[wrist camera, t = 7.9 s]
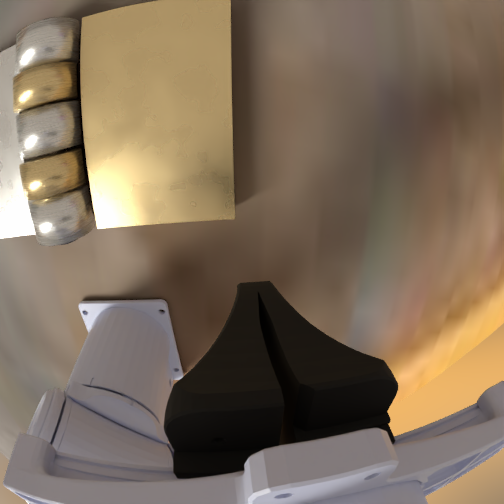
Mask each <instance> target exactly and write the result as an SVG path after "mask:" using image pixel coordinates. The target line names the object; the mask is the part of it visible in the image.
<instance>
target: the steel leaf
mask: <svg viewBox="0 0 504 504" xmlns="http://www.w3.org/2000/svg"><path fill="white" fill-rule="evenodd" d="M79 27H80V22H79V21H78V20H77V19H74V18H69V17H56V18H48V19H44V20H40V21H37V22H34V23H32V24H30V25H28V26H26V27H24V28H23V29H21V30H20V31H19V32H18V33H17V37H16V45H14V46H12V47H10V48H8V49H6V50H4V51H2V52H0V238H7V237H15V236H23V235H31V234H35V235H36V238H37V242H38V244H40V245H42V246H55V245H64V244H68V243H71V242H73V241H75V240H77V239H78V238H80V237H82V236H84V235H86V234H87V233H89V232H90V231H91V230H92V229H93V228H94V226H95V223H94V218H93V212H92V207H91V201H90V196H89V190H88V184H87V183H84V184H82V185H81V186H79V187H77V188H74V189H72V190H69V191H67V192H64V193H61V194H57V195H54V196H51V197H47V198H42V199H37V200H26V199H25V197H24V192H23V186H22V181H21V175H20V169H19V165H20V164H21V163H24V162H26V161H29V160H31V159H34V158H37V157H39V156H40V155H43V154H47V153H51V152H55V151H58V150H62V149H66V148H69V147H73V146H76V145H79V144H82V135H81V123H80V108H79V101H68V102H61V103H56V104H51V105H47V106H43V107H39V108H35V109H32V110H29V111H26V112H22V113H13V77H14V76H16V75H17V74H19V73H21V72H23V71H25V70H28V69H30V68H33V67H37V66H41V65H45V64H50V63H57V62H72V63H76V64H77V63H78V51H79Z"/></svg>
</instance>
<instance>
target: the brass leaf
mask: <svg viewBox="0 0 504 504" xmlns="http://www.w3.org/2000/svg"><path fill="white" fill-rule="evenodd" d="M80 84H81V108H82V123H83V135H84V145H85V154H86V162H87V170H88V177H89V184H90V190H91V196H92V202H93V207H94V213H95V218H96V223H97V228H98V229H100V228H112V227H124V226H136V225H149V224H163V223H177V222H193V221H209V220H227V219H235V199H234V167H233V128H232V78H231V0H158V1H152V2H146V3H140V4H135V5H130V6H125V7H121V8H117V9H112V10H108V11H104V12H101V13H97V14H93V15H90V16H86V17H83V18H82V27H81V50H80ZM76 98H77V64H76V63H72V62H57V63H50V64H45V65H41V66H37V67H33V68H30V69H28V70H25V71H23V72H21V73H19V74H17V75H16V76H14V77H13V113H22V112H26V111H29V110H32V109H35V108H39V107H43V106H47V105H51V104H56V103H61V102H67V101H71V100H73V99H76ZM19 169H20V175H21V181H22V186H23V192H24V197H25V199H26V200H37V199H42V198H47V197H51V196H54V195H57V194H61V193H64V192H67V191H69V190H72V189H74V188H77V187H79V186H81V185H82V184H84V183H85V182H86V180H85V173H84V166H83V158H82V150H81V148H74V149H68V150H64V151H59V152H55V153H51V154H48V155H44V156H41V157H37V158H34V159H31V160H29V161H26V162H24V163H21V164H20V165H19Z"/></svg>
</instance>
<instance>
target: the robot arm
mask: <svg viewBox="0 0 504 504" xmlns="http://www.w3.org/2000/svg"><path fill="white" fill-rule="evenodd" d="M237 288H238V289H237V295H236V299H235V302H234V305H233V308H232V311H231V313H230V315H229V317H228V320H227V322H226V324H225V326H224V328H223V329H222V331H221V333H220V335H219V336H218V338H217V339H216V341H215V342H214V344H213V345H212V346H211V348H210V349H209V351H208V352H207V353H206V354H205V356H204V357H203V358H202V359H201V360H200V361H199V362H198V363H197V364H196V365H195V366H194V368H193V369H192V370H190V371H189V372H188V373H187V374H186V375H185V376H184V377H183V370H182V366H181V362H180V358H179V354H178V350H177V346H176V341H175V337H174V333H173V328H172V324H171V319H170V314H169V309H168V305H167V302H166V301H165V300H162V299H154V300H114V301H81V302H80V304H79V309H80V312H81V315H82V317H83V320H84V322H85V325H86V327H87V330H88V332H89V333H88V335H87V338H86V340H85V342H84V344H83V347H82V349H81V351H80V354H79V356H78V359H77V361H76V363H75V366H74V368H73V371H72V373H71V376H70V378H69V381H68V383H67V386H66V389H65V391H64V392H63V391H62V390H61V389H59V388H55V389H54V390H48V391H46V392H45V394H44V395H43V397H42V399H41V401H40V403H39V405H38V407H37V409H36V411H35V413H34V416H33V418H32V420H31V423H30V425H29V428H28V431H27V434H25V433H22V432H20V433H19V434H18V437H17V440H16V442H15V445H14V448H13V451H12V454H11V458H10V461H9V464H8V468H7V471H6V474H5V478H4V481H3V485H4V486H5V487H6V488H8V489H9V490H11V491H12V492H14V493H15V494H17V495H18V496H20V497H21V498H23V499H24V500H26V502H27V503H28V504H428V503H427V501H426V498H425V496H426V495H428V494H430V493H432V492H434V491H436V490H438V489H440V488H442V487H443V486H445V485H447V484H448V483H451V482H452V481H454V480H456V479H457V478H459V477H461V476H462V475H464V474H466V473H467V472H469V471H470V470H472V469H474V468H475V467H477V466H478V465H480V464H481V463H483V462H484V461H486V460H487V459H489V458H490V457H492V456H493V455H495V454H496V453H498V452H499V451H500V450H501V449H502V448H503V447H504V381H501V382H499V383H498V384H496V385H494V386H492V387H490V388H488V389H487V390H486V391H485V392H484V393H483V394H482V395H481V396H480V398H479V399H478V401H477V403H475V404H473V405H471V406H469V407H467V408H465V409H463V410H460V411H459V412H456V413H454V414H452V415H449V416H447V417H445V418H443V419H440V420H438V421H435V422H433V423H430V424H428V425H425V426H423V427H420V428H418V429H415V430H412V431H409V432H406V433H403V434H401V435H398V436H395V437H394V436H393V434H392V432H391V429H390V427H389V425H388V423H390V417H389V415H388V413H387V410H388V409H389V406H390V405H391V403H392V402H393V400H394V398H395V396H396V393H397V391H398V383H397V381H396V379H395V377H394V375H393V374H392V372H391V370H390V369H389V367H388V366H387V364H386V363H385V361H384V360H381V359H378V358H375V357H372V356H369V355H367V354H364V353H361V352H359V351H356V350H354V349H352V348H350V347H348V346H346V345H344V344H342V343H340V342H338V341H336V340H334V339H333V338H331V337H329V336H328V335H326V334H324V333H323V332H321V331H320V330H319V329H317V328H316V327H314V326H313V325H312V324H310V323H309V322H308V321H307V320H306V319H305V318H303V317H302V316H301V315H300V314H299V313H298V312H297V311H296V310H295V309H294V308H293V307H292V306H291V305H290V304H289V303H288V302H287V301H286V300H285V299H284V297H283V296H282V295H281V294H280V293H279V292H278V290H277V289H276V288H275V287H274V285H273V284H272V283H271V282H270V281H264V282H248V283H240V284H239V285H237ZM161 309H162V310H164V312H162V311H160V310H161ZM84 310H85V311H87V312H85V311H84ZM176 368H178V369H176ZM178 379H180V380H179V381H178V382H177V383H175V384H174V386H173V380H178ZM172 387H173V388H172ZM168 440H169V442H170V443H168Z"/></svg>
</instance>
